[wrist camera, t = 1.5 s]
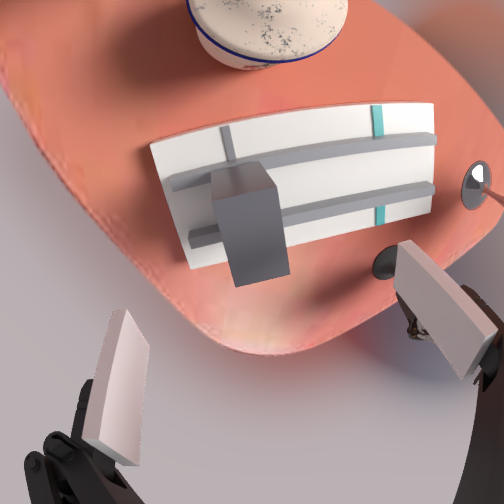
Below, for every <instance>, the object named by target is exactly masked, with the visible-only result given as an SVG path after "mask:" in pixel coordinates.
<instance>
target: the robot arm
mask: <svg viewBox="0 0 504 504" xmlns="http://www.w3.org/2000/svg"><path fill="white" fill-rule="evenodd" d="M393 287H394V289H395V290H396V291H397V292H398V294H399V295H400V296H401V298H402V299H403V300H404V301H405V303H406V304H407V305H408V307H409V308H410V309H411V310H412V312H413V313H414V314H415V316H416V317H417V318H418V320H419V321H420V322H421V324H422V325H423V326H424V328H425V329H426V331H427V332H428V333H429V335H430V336H431V337H432V339H433V340H434V342H435V343H436V344H437V346H438V347H439V349H440V350H441V352H442V353H443V354H444V356H445V357H446V359H447V360H448V362H449V363H450V365H451V366H452V368H453V369H454V371H455V372H456V374H457V375H458V377H459V378H460V380H461V381H462V380H463V379H465V378H466V377H468V376H470V375H471V374H473V373H474V371H475V370H476V368H477V366H478V365H480V367H481V368H482V369H481V371H480V373H479V374H478V376H477V377H476V379H475V380H474V383H473V384H474V385H475V384H476V383H477V381H478V380H479V384H478V385H479V388H478V398H477V406H476V414H475V419H474V426H473V431H472V436H471V441H470V446H469V450H468V454H467V459H466V463H465V466H464V470H463V474H462V477H461V480H460V484H459V487H458V490H457V493H456V496H455V499H454V502H453V504H504V323H503V322H502V320H501V319H500V318H499V317H498V316H497V315H496V314H495V312H493V310H492V309H491V308H490V307H489V306H488V305H486V303H485V302H484V300H483V299H481V298H480V296H479V295H478V294H477V293H476V292H475V291H474V290H472V289H471V288H469V287H467V286H465V285H462V286H459V285H457V283H456V282H455V281H454V280H453V279H452V278H451V277H450V276H448V274H447V273H446V272H444V270H443V269H442V268H441V267H440V266H439V265H437V264H436V263H435V262H434V261H433V260H432V259H431V258H430V257H429V256H428V255H427V254H426V253H425V252H424V251H423V250H421V249H420V248H419V247H418V246H417V245H416V244H415V243H414V242H413V241H412V240H407V241H403V242H399V243H398V250H397V260H396V268H395V277H394V284H393ZM149 351H150V346H149V345H148V343H147V342H146V340H145V338H144V337H143V335H142V334H141V332H140V330H139V328H138V327H137V325H136V323H135V322H134V320H133V318H132V317H131V315H130V313H129V311H128V310H127V309H122V310H117V311H113V313H112V317H111V320H110V323H109V326H108V329H107V333H106V336H105V339H104V343H103V347H102V350H101V354H100V357H99V361H98V364H97V368H96V372H95V376H94V379H89V380H87V381H86V382H85V384H84V386H83V387H82V389H81V392H80V396H79V402H78V404H77V410H76V413H75V418H74V423H73V428H72V432H71V438H69V437H68V436H67V435H65V434H64V433H61V432H60V431H55V432H53V433H50V434H49V435H48V436H47V437H46V439H45V441H44V444H43V451H44V455H46V456H44V455H42V454H41V453H39V452H37V451H32V452H30V453H29V454H28V455H27V456H26V458H25V461H24V470H25V476H26V481H27V486H28V491H29V496H30V500H31V504H145V503H144V502H143V501H142V500H141V499H140V497H139V496H138V495H137V494H136V493H135V492H134V490H133V489H132V488H131V486H130V485H129V484H128V482H127V481H126V480H125V479H124V477H123V476H122V474H121V473H120V472H119V470H117V469H116V468H115V461H116V462H118V463H119V464H121V465H123V466H139V459H140V440H141V425H142V413H143V401H144V391H145V382H146V374H147V366H148V358H149ZM59 493H60V494H59Z"/></svg>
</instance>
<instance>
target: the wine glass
mask: <svg viewBox="0 0 504 504" xmlns="http://www.w3.org/2000/svg"><path fill="white" fill-rule="evenodd" d="M491 185H492V173H491V169H490V167H489V165H488V164H487V163H486V162H484V161H477V162H475V163H474V164H473V165H472V166H471V167H470V168H469V170H468V171H467V173H466V175H465V178H464V181H463V185H462V201H463V204H464V206H465V207H466V208H467V209H469V210H476V209H478V208H479V207H481V206H482V205H483V203H484V202H485V201H486V199H487V197H488V195H489V196H490V197H492V198H493V199H495V200H496V201H497V202H498V203H499V204H501V205H502V206H503V207H504V197H503V196H501V195H499V194H496V193H494V192H493V191H491V190H490V189H491Z"/></svg>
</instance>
